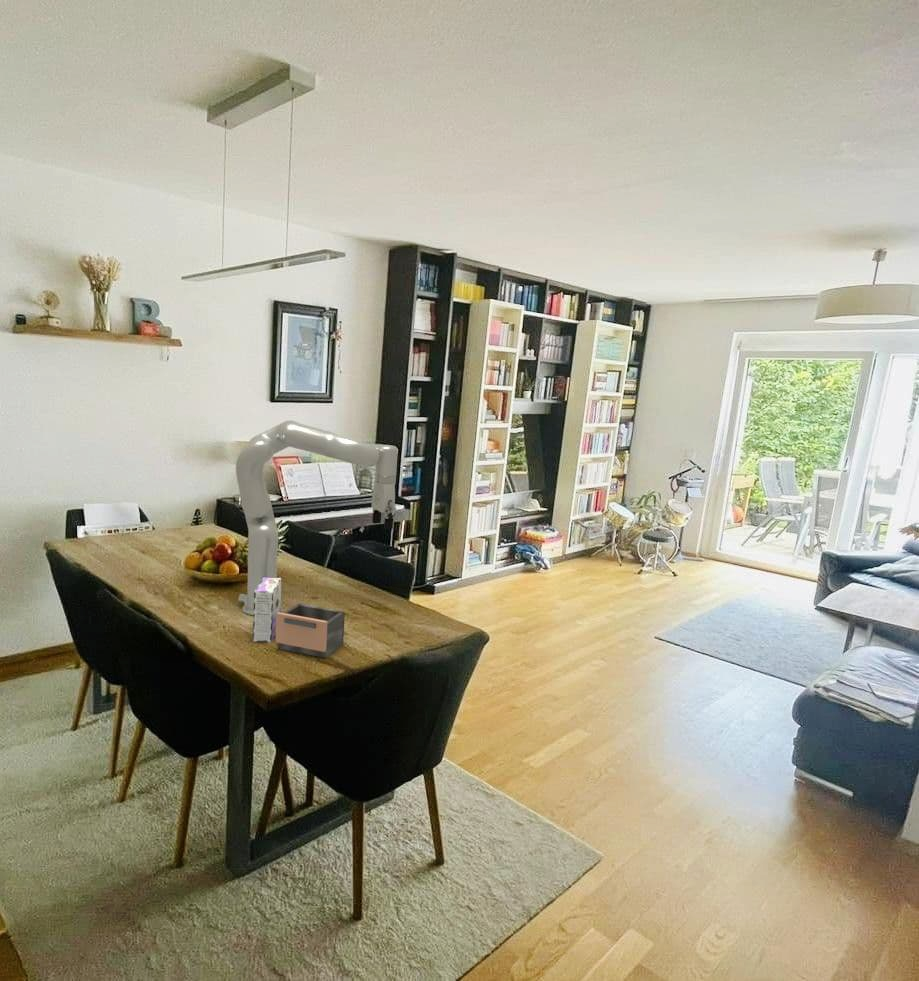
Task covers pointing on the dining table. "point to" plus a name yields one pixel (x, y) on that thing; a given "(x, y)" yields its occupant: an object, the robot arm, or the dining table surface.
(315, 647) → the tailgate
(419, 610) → the dining table surface
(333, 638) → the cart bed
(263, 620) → the candy box
